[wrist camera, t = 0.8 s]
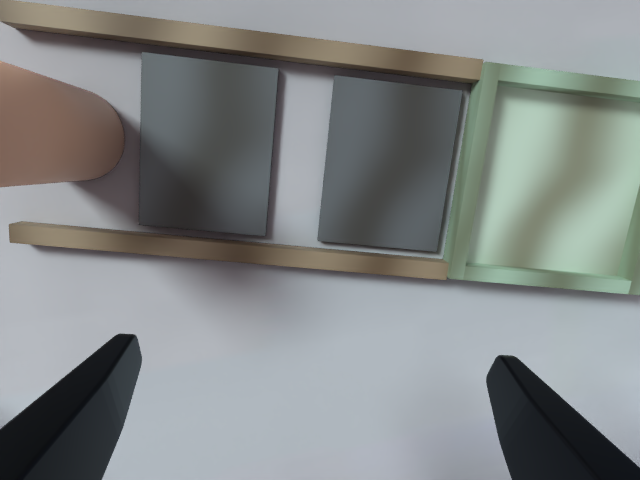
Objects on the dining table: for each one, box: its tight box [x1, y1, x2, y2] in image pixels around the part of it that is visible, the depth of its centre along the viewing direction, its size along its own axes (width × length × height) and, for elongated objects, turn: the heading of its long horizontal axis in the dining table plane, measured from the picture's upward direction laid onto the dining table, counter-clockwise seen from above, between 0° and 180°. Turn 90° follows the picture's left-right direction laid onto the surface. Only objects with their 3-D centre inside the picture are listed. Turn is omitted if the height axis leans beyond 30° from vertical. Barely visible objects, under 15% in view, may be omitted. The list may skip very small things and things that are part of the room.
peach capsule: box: [0, 61, 125, 187], centre depth 16 cm, size 5×5×10 cm
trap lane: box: [0, 0, 640, 295], centre depth 22 cm, size 36×12×1 cm, turn 84°
